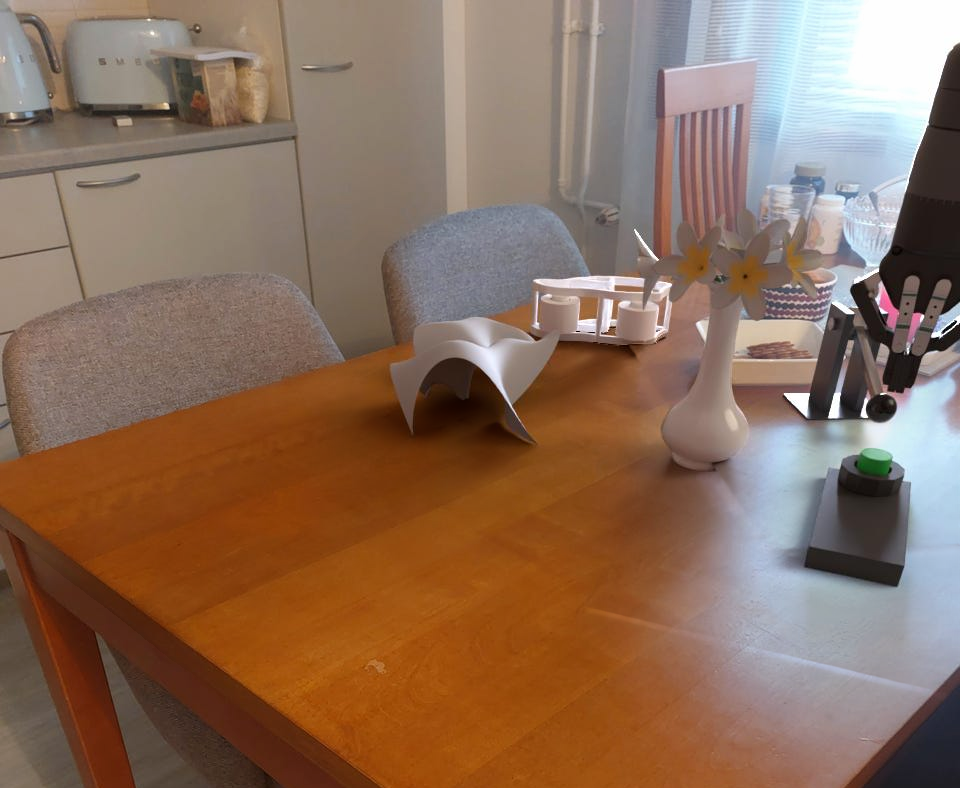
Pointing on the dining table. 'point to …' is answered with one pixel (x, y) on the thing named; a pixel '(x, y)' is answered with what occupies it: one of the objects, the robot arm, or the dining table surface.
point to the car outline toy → (598, 310)
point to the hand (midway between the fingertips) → (895, 390)
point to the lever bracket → (836, 373)
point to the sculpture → (472, 362)
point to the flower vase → (724, 321)
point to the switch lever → (871, 373)
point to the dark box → (861, 524)
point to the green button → (874, 461)
